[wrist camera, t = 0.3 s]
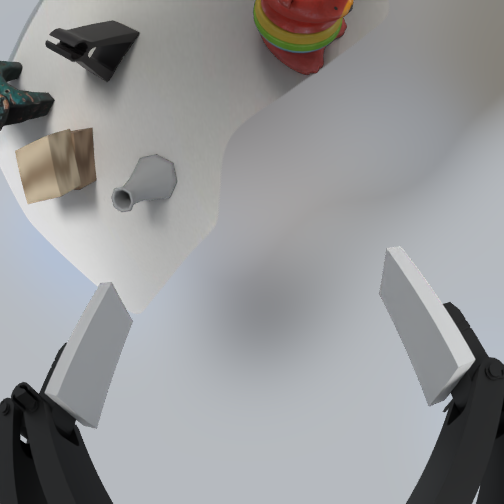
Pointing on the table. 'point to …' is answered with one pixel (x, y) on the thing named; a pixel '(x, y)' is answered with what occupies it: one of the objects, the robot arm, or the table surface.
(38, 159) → the block upper
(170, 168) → the flask
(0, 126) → the ceramic cat
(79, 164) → the block lower
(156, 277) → the table surface
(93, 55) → the phone stand
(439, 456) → the robot arm
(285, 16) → the stacking bear
